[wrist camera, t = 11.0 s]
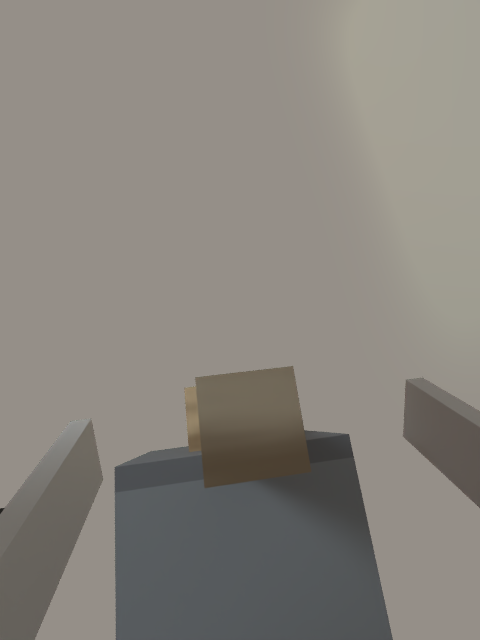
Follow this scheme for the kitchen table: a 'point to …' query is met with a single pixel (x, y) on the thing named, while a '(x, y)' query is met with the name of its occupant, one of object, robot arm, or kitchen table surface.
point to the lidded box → (245, 551)
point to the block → (247, 426)
